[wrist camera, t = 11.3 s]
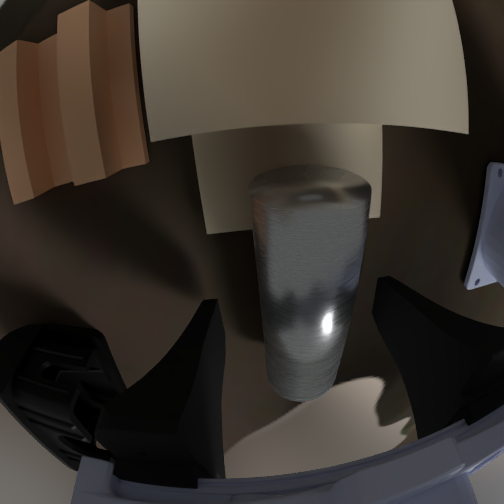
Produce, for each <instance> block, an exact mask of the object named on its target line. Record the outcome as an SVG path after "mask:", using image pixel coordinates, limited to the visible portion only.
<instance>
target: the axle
mask: <svg viewBox="0 0 504 504" xmlns="http://www.w3.org/2000/svg"><path fill="white" fill-rule="evenodd" d="M371 194H372V188H371V186H370V184H369V183H368V182H367V181H366V180H365V179H364V178H363V177H361V176H359V175H357V174H355V173H353V172H350V171H347V170H344V169H340V168H336V167H331V166H323V165H292V166H285V167H280V168H275V169H272V170H269V171H266V172H264V173H261V174H260V175H258V176H256V177H255V178H254V179H253V180H252V181H251V182H250V184H249V199H250V208H251V218H252V228H253V238H254V248H255V257H256V267H257V277H258V287H259V297H260V307H261V317H262V327H263V337H264V347H265V358H266V368H267V377H268V381H269V383H270V385H271V387H272V388H273V390H274V391H275V392H276V393H278V394H279V395H280V396H282V397H284V398H286V399H289V400H293V401H310V400H313V399H316V398H318V397H320V396H322V395H323V394H325V393H326V392H327V391H328V390H329V389H330V388H331V386H332V385H333V383H334V380H335V377H336V374H337V370H338V367H339V363H340V360H341V356H342V352H343V348H344V345H345V341H346V337H347V333H348V329H349V324H350V320H351V316H352V311H353V307H354V302H355V297H356V293H357V288H358V283H359V277H360V272H361V266H362V260H363V254H364V248H365V242H366V235H367V228H368V220H369V212H370V204H371Z"/></svg>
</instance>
